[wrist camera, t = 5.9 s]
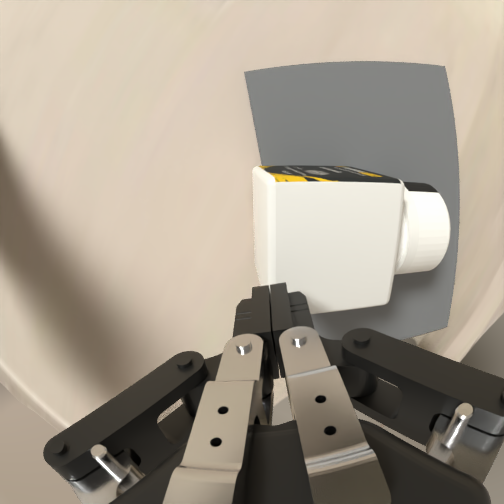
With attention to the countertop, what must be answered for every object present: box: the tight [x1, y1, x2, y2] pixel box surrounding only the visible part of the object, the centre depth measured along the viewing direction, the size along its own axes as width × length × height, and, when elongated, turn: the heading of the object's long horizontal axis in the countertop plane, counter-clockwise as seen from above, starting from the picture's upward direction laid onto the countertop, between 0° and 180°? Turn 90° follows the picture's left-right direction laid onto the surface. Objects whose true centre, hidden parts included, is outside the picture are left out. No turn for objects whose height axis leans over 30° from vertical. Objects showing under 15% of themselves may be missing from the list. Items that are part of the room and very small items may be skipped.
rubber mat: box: [244, 61, 460, 340], centre depth 21 cm, size 24×16×1 cm, turn 10°
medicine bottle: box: [252, 165, 451, 314], centre depth 18 cm, size 7×7×12 cm
